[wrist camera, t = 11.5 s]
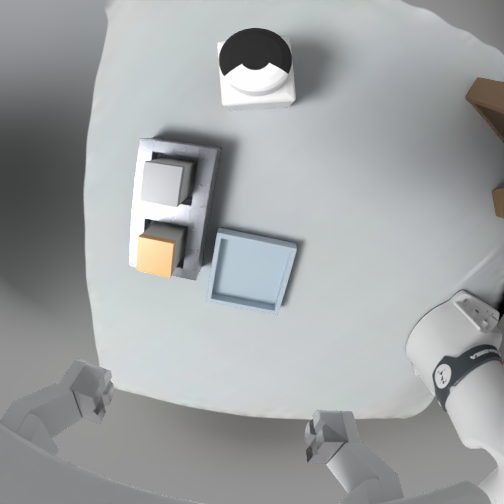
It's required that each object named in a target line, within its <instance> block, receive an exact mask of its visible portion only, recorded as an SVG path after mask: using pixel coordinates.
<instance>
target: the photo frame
mask: <svg viewBox="0 0 504 504" xmlns="http://www.w3.org/2000/svg"><path fill="white" fill-rule="evenodd" d="M465 98H466V99H467V100H468V101H469V102H470V103H471V104H472V105H473V106H474V108H475V109H476V110H477V111H478V112H479V113H480V114H481V115H482V117H483V118H484V119H485V120H486V121H487V122H488V124H489V125H490V126H491V127H492V129H493V130H494V131H495V132H496V134H497V135H498V136H499V137H500V139H501V140H502V141H503V143H504V82H499V81H494V80H489V79H484V78H477V79H476V81H475V83H474V84H473V86H472V87H471V89H470V91H469V92H468V94H467V95H466V97H465ZM492 194H493V200H494V205H495V211H496V216H498V217H501V218H504V187H502V188H499V189H496V190H494V191H492Z"/></svg>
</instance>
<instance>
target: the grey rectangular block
mask: <svg viewBox="0 0 504 504" xmlns="http://www.w3.org/2000/svg"><path fill="white" fill-rule="evenodd" d="M196 165H197V161H192V160H186V159H180V158H173V157H166V156H165V157H162V158H158V159H154V160H151V161H145V162H144V167H143V175H142V183H141V193H140V201H143V202H149V203H154V204H160V205H165V206H171V207H176V208H177V207H178V206H179V205H180V203H181V202H183V201H184V200H185V199H186V198H187V197H188V196H189V195H190V194H192V189H193V183H194V177H195V171H196Z"/></svg>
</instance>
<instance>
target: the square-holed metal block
mask: <svg viewBox="0 0 504 504" xmlns="http://www.w3.org/2000/svg"><path fill="white" fill-rule="evenodd" d="M221 149H222V148H218V147H212V146H206V145H200V144H194V143H187V142H180V141H173V140H165V139H157V138H145V139H140V143H139V150H138V158H137V166H136V174H135V183H134V193H133V204H132V217H131V233H130V257H129V266H133V267H137V244H138V236H139V235H140V234H142V233H143V232H144V231H146V230H147V229H148V228H149V227H150V226H151V225H152V224H153V223H154V222H156V221H162V222H167V223H172V224H177V225H182V226H187V227H188V230H187V237H186V245H185V253H184V255H183V257H182V258H181V260H180V262H179V263H178V265H177V267H176V268H175V270H174V272H173V274H172V276H177V277H182V278H186V279H191V280H196V279H197V276H198V274H199V272H200V269H201V267H202V260H203V254H204V247H205V241H206V234H207V228H208V222H209V216H210V210H211V204H212V198H213V192H214V187H215V181H216V176H217V170H218V165H219V160H220V154H221ZM165 156H166V157H173V158H180V159H186V160H192V161H197V165H196V171H195V177H194V183H193V189H192V194H190V195H189V196H188V197H187V198H186V199H185V200H184V201H183V202H181V203H180V205H179V206H178V207H177V208H176V207H171V206H165V205H160V204H154V203H149V202H143V201H140V193H141V183H142V175H143V167H144V162H145V161H151V160H154V159H158V158H162V157H165Z"/></svg>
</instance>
